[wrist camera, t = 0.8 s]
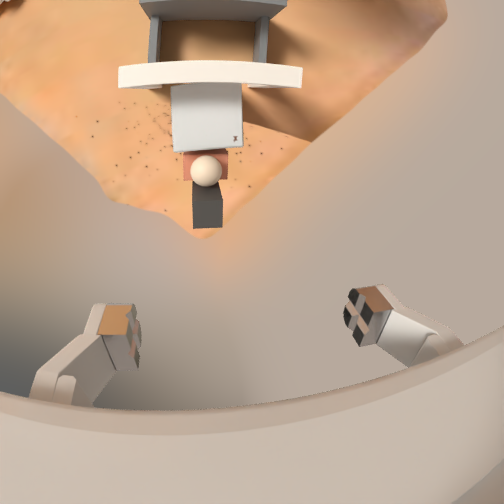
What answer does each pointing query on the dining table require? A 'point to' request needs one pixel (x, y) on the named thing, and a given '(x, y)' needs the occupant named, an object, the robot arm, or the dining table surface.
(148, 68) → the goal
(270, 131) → the dining table surface
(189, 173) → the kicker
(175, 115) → the supplement box
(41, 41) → the dining table surface
